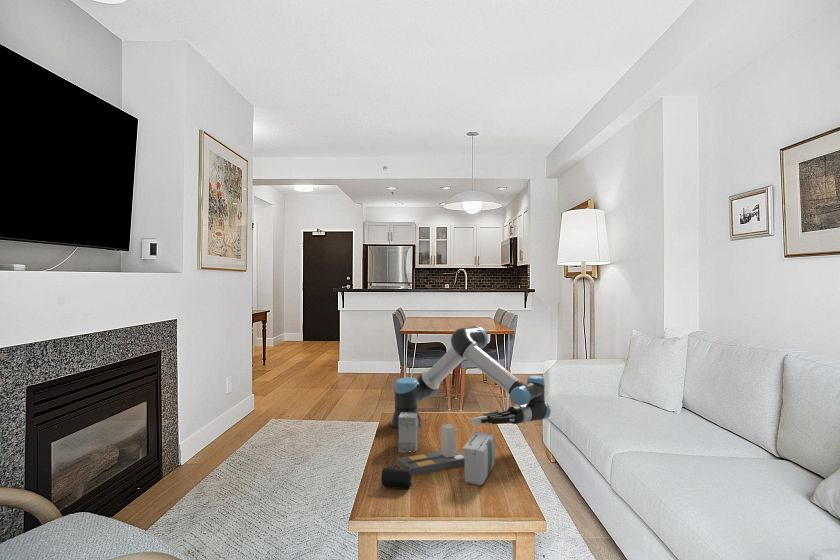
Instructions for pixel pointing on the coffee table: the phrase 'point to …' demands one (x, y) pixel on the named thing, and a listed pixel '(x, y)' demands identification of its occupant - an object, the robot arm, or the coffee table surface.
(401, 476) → the end cap
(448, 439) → the slider tab
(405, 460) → the grey flat board
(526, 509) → the coffee table surface
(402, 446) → the circuit breaker
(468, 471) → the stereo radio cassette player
